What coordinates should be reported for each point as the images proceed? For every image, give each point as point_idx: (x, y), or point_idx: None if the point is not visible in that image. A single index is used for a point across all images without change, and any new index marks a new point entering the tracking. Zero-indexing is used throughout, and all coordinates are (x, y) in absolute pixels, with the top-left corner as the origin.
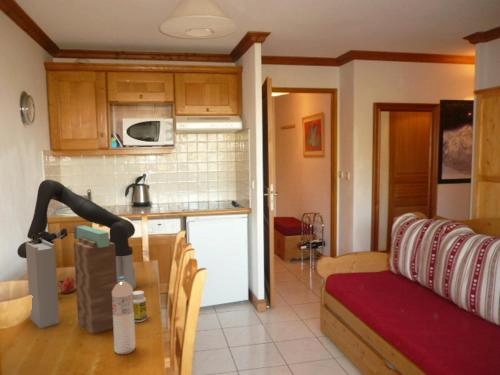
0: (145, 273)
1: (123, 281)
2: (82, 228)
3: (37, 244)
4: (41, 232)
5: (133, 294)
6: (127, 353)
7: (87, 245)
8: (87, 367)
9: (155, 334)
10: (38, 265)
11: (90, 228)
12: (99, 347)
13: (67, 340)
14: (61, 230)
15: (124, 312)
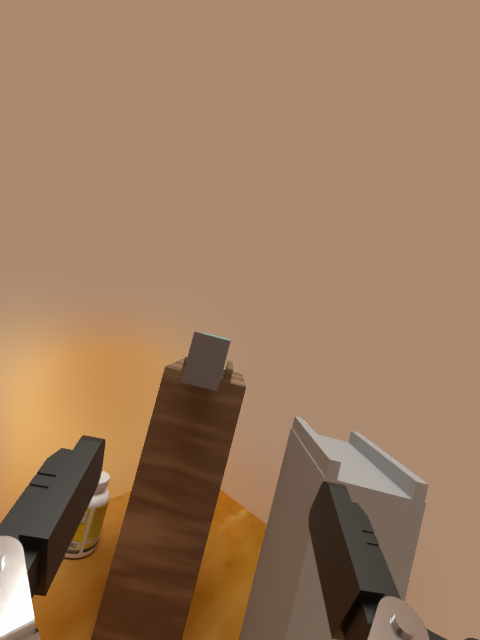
0: None
1: None
2: (227, 339)
3: (362, 483)
4: (368, 518)
5: (109, 477)
6: None
7: (232, 375)
8: (249, 516)
9: (124, 498)
10: None
11: (212, 335)
12: (211, 535)
13: (242, 597)
14: (64, 513)
15: None
